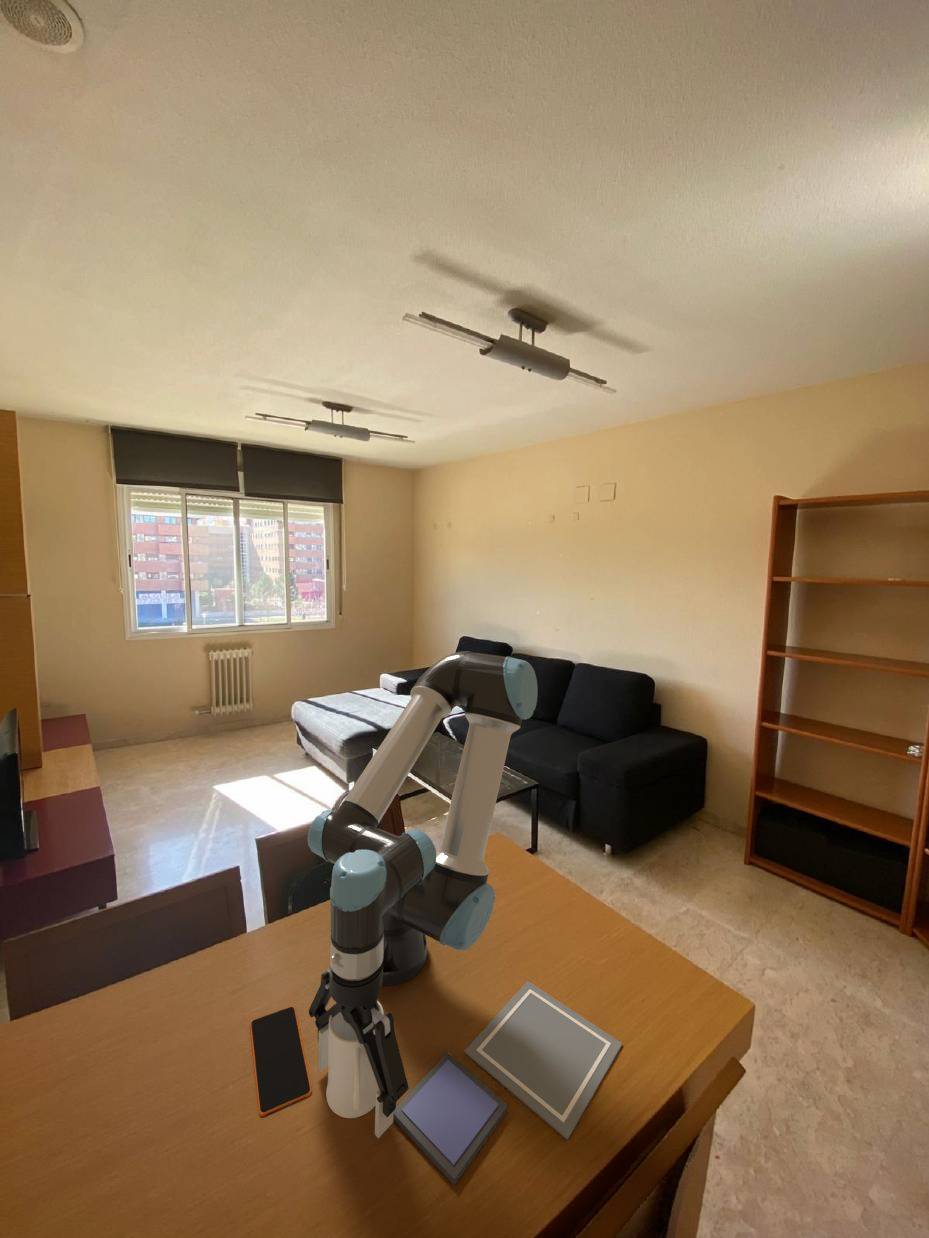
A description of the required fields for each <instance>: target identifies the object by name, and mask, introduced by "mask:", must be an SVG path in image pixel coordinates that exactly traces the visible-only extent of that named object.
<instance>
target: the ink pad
mask: <svg viewBox="0 0 929 1238" xmlns="http://www.w3.org/2000/svg"><path fill="white" fill-rule="evenodd" d="M508 1112H509V1104H508V1103H506V1102H505V1101H504V1099H502V1098H501V1097H500V1096H498V1095H497V1093H495V1092H494V1091H492V1090H491V1089H490V1088H489V1087H488V1085H486V1084H484V1082H482V1081H481V1080H480V1079H479V1078H478V1077H477V1076H476V1075H474V1074H473V1073H472V1072H471V1071H469V1070H468V1068H466V1067H465V1066H464V1065H463V1064H462V1063H460V1062H459V1061H458V1059H456V1058H455V1057H454V1056H453V1055H451V1053H449V1052H446V1053H445V1054H444V1056H442V1057H441V1059H440V1060H439V1061H438V1062H437V1063H436V1064H435V1065H434V1066H433V1067H432V1068H431V1069H430V1070H429V1072H427V1073H426V1075H425V1076H424V1077H423V1078H422V1079H421V1080H420V1081H419V1082H418V1083H417V1084H416V1085H415V1087H413V1089H412V1090H410V1092H409V1093H408V1094H406V1096H405V1097H404V1098H403V1099H402V1100H401V1101H400V1103H399V1104H398V1105H396V1109H395V1110H394V1111H393V1122H395V1123H396V1124H397V1126H398V1127H400V1129H401V1130H403V1132H404V1133H405V1134H406V1135H407V1137H409V1139H411V1140H412V1142H413V1143H414V1145H416V1146H417V1147H418V1148H419V1149H420V1150H421V1152H422V1153H423V1154H424V1155H425V1156H426V1157H427V1158H428V1159H429V1160H430V1161H431V1162H432V1164H434V1166H435V1167H436V1168H437V1169H438V1170H439V1171H440V1172H441V1173H442V1174H443V1175H444V1176H445V1177H446V1179H447V1180H448V1181H449V1182H450V1183H451V1184H452V1185H453V1186H455V1185H456V1184H457V1183H458V1181H459V1180H460V1179H461V1177H462V1176H463V1175H464V1173H465V1171H466V1170H467V1169H468V1167H469V1166H470V1164H471V1163H472V1161H473V1160H475V1159H474V1158H475V1157H476V1156H477V1155H478V1153H479V1152H480V1151H481V1149H482V1148H483V1146H484V1145H485V1143H486V1142H487V1141H488V1140H489V1138H490V1136H491V1135H492V1134H493V1132H494V1131H495V1130H496V1129H497V1127H498V1125H499V1124H500V1123H501V1121H502V1120H503V1118H504V1117H505V1115H506V1114H507V1113H508Z"/></svg>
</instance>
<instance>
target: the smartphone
mask: <svg viewBox="0 0 929 1238" xmlns="http://www.w3.org/2000/svg"><path fill="white" fill-rule="evenodd" d="M249 1029H250V1031H249V1032H250V1040H251V1042H250V1043H251V1049H252V1050H251V1051H252V1058H253V1069H254V1079H255V1088H256V1089H255V1090H256V1098H257V1108H258V1109H257V1110H258V1116H260V1118H261V1117H266V1116H268V1115H270V1114H273V1113H274V1112H276V1111H279V1110H281V1109H283V1108H284V1107H286V1106H289V1105H293V1104H295V1103H297V1102H299V1101H302V1100H304V1099H306V1098H308V1097H310V1096H311V1095H312V1093H313V1088H312V1084H311V1079H310V1075H309V1070H308V1069H309V1068H308V1064H307V1060H306V1056H305V1049H304V1046H303V1045H304V1044H303V1036H302V1034H301V1027H300V1023H299V1017H298V1015H297V1012H296V1007H295V1006H288V1007H285V1008H283V1009H282V1008H281V1009H280V1010H277V1011H274V1012H271V1013H268V1014H266V1015H263V1016H260V1017H257V1018H254V1019H252V1020H251V1021H250V1023H249Z"/></svg>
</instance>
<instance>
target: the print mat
mask: <svg viewBox="0 0 929 1238" xmlns="http://www.w3.org/2000/svg"><path fill="white" fill-rule="evenodd" d="M622 1046H623V1042H622V1041H619V1040H618V1039H616V1038H615V1037H614V1036H612V1035H611V1034H609V1033H607V1032H606V1031H605V1030H604V1029H601V1028H600V1027H598V1026H597V1025H595V1023H592V1022H591V1021H589V1020H588V1019H586V1018H585V1017H583V1016H582V1015H580V1014H579V1013H577V1012H575V1011H574V1010H573V1009H571V1008H570V1007H568V1006H567V1005H565V1004H563V1003H562V1002H561V1001H559V1000H557V999H556V998H554V997H553V996H552V995H550V994H548V993H547V992H545V991H544V990H542V989H541V988H539V986H536V985H535V984H533V983H532V982H530V981H529V980H527V981H526V982H525V983H524V984H523V985H522V986H521V988H520V989H518V991H517V992H516V993H515V994H514V995H513V996H512V997H511V999H509V1000H508V1002H507V1003H506V1004H505V1005H504V1007H502V1008H501V1010H500V1011H499V1012H498V1013H497V1014H496V1015H495V1016H494V1017H493V1018H492V1019H491V1021H490V1022H488V1024H487V1026H485V1027H484V1029H482V1031H481V1032H480V1033H479V1034H478V1035H477V1036H476V1038H474V1040H472V1042H471V1043H470V1044H469V1045H468V1046H467V1047H466V1049H465V1050H464V1052H463V1053H464V1054H465V1055H466V1056H468V1058H469V1059H471V1060H472V1061H474V1063H476V1064H477V1065H478V1066H479V1067H480V1068H482V1069H483V1070H484V1071H485V1072H486V1073H488V1074H489V1075H490V1076H491V1077H492V1078H494V1079H495V1080H496V1081H497V1082H498V1083H499V1084H500V1085H502V1086H503V1087H504V1088H505V1089H507V1090H508V1091H509V1092H510V1093H511V1094H512V1095H514V1097H515V1098H517V1099H518V1100H519V1101H520V1102H522V1103H523V1104H524V1105H525V1106H526V1107H527V1108H529V1109H530V1110H531V1111H533V1113H535V1114H536V1116H538V1117H539V1118H540V1119H542V1120H543V1121H544V1122H545V1123H546V1124H548V1125H549V1126H550V1127H551V1128H552V1129H553V1130H555V1131H556V1132H557V1133H558V1134H559V1135H560V1136H562V1137H563V1138H564V1139H566V1140H567V1141H568V1140H569V1139H570V1137H571V1135H572V1133H573V1132H574V1130H575V1128H576V1126H577V1124H578V1123H579V1121H580V1119H581V1118H582V1117H583V1114H584V1113H585V1111H586V1110H587V1107H588V1106H589V1104H590V1102H591V1100H592V1098H593V1096H594V1095H595V1094H596V1092H597V1090H598V1088H599V1086H600V1084H601V1083H602V1081H603V1080H604V1077H605V1076H606V1074H607V1073H608V1070H609V1069H610V1068H611V1065H612V1064H613V1062H614V1061H615V1058H616V1057H617V1055H618V1053H619V1051H620V1050H621V1048H622Z"/></svg>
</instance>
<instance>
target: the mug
mask: <svg viewBox="0 0 929 1238" xmlns="http://www.w3.org/2000/svg"><path fill="white" fill-rule="evenodd" d="M377 1003H378V1007H379V1012H380V1013H381V1014H383V1015H384V1016H385V1012H384V1008H383V1006H382V1004H381V1003H380V1002H379V1000H377ZM372 1027H373V1022H372V1023H371V1024H370V1025H369V1026H367V1027H366V1028H365V1029H364V1030H363V1032H364V1034H365V1033H366V1032H368V1031H369V1030H370V1029H371V1028H372ZM327 1069H328V1070H327V1073H328V1074H327V1075H328V1076H327V1086H326V1090H325V1091H326V1101H327V1104H328V1107H329V1108H330V1110H331V1111H332V1112H333V1113H334V1114H335V1115H337V1116H338V1117H341V1118H345V1119H356V1118H359V1117H363V1116H364V1115H366V1114H368V1113H369V1112H371V1111H372V1110H373V1109H374V1108H376V1092H377V1091H378V1090H379V1087H378V1084H377V1081H376V1079H375V1076H374V1073H373V1070H372V1067H371V1065H370V1062H369V1059H368V1056H367V1053H366V1051H365V1048H364V1045H363V1044H360V1043H359V1041H358V1039H357V1036H356V1033H355V1030H354V1029H353V1028H352V1027H351V1025H350V1024H349V1023H347V1022H346V1021H345V1020H344V1019H343V1016H342V1014H341V1012H339V1013H338V1014H337V1015H335V1016H334V1017H333V1018H332V1016H331V1015H330V1018H329V1047H328V1067H327Z"/></svg>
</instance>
